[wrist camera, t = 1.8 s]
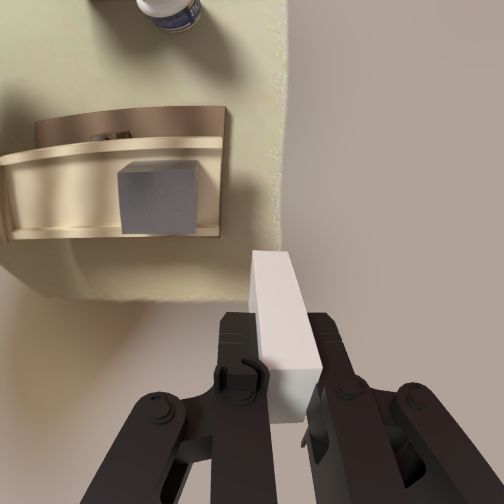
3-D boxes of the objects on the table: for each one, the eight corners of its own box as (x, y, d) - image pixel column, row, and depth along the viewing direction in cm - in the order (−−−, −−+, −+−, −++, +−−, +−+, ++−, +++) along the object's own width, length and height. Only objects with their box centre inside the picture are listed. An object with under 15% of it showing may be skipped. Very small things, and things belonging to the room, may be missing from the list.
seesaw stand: (51, 229, 35) (32, 244, 30) (40, 121, 28) (17, 125, 23) (220, 233, 36) (217, 252, 32) (225, 106, 29) (223, 105, 25)
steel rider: (134, 213, 27) (122, 234, 22) (132, 161, 25) (117, 172, 20) (196, 212, 28) (195, 233, 23) (197, 159, 26) (195, 170, 21)
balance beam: (22, 231, 28) (3, 247, 24) (10, 148, 23) (-13, 156, 19) (217, 227, 31) (219, 245, 27) (221, 130, 27) (223, 134, 23)
